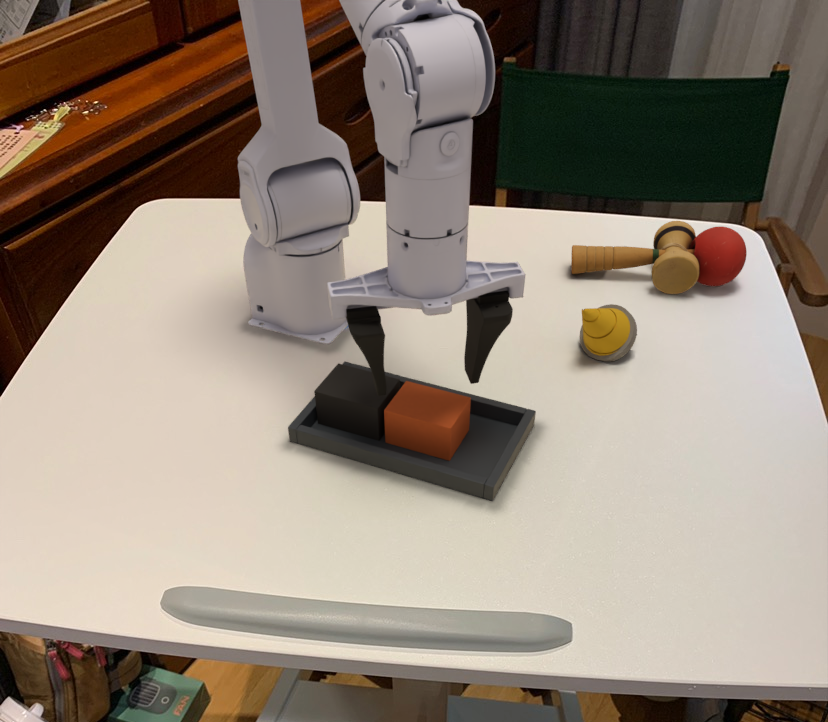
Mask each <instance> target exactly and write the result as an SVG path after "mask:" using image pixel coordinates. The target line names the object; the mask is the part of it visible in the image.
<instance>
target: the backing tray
mask: <svg viewBox="0 0 828 722" xmlns="http://www.w3.org/2000/svg"><path fill="white" fill-rule="evenodd" d="M342 364H343V365H347V366H351V367H355V368H359V369H362V370H366V371H370V372H372V371H371V369H370V366H364V365H362V364H361V365H360V364H357V363H352V362H349V361H345V360H344V361H343V363H342ZM385 376H389V377H393V378H397V379H400V388H401V387H402V386H403V385H404V383H405V382H406V381H409V382H413V383H416V384H420V385H424V386H428V387H432V388H436V389H440V390H443V391H447V392H451V393H455V394H459V395H463V396H466V397H470V398H471V404H470V422H469V431H468V432H467V434H466V436H465V437H464V439H463V440H462V442H461V444H460V445H459V447H458V448H457V450H456V452H455V453H454V455H453V456H452V458H451V460H450V461H448V460H445V459H441V458H438V457H434V456H431V455H427V454H424V453H420V452H417V451H413V450H410V449H406V448H403V447H399V446H396V445H392V444H389V443H386V442H385V433H384V435H383V436H382V437H381V439H380V440H379V441H378V440H374V439H371V438H367V437H364V436H360V435H357V434H353V433H350V432H346V431H343V430H339V429H336V428H332V427H329V426H325V425H322V424H318V420H317V411H316V402H315V395H314V396H313V398H311V399H310V401H309V402H307V404H306V405H305V407H304V408H303V409H302V410H301V412H300V413H299V414H298V415H296V417H295V418H294V419H293V421H291V422H290V424H289V425H288V426H287V432H288V437H289V439H288V440H289V442H290V443H294V444H298V445H301V446H304V447H306V448H311V449H314V450H318V451H320V452H324V453H327V454H330V455H334V456H338V457H341V458H345V459H348V460H351V461H355V462H357V463H360V464H361V463H362V464H364V465H368V466H370V467H375V468H378V469H380V470H381V469H382V470H385V471H387V472H388V471H389V472H391V473H395V474H399V475H401V476H404V477H405V476H406V477H408V478H412V479H416V480H418V481H422V482H424V483H425V482H426V483H428V484H432V485H435V486H439V487H443V488H446V489H450V490H453V491H455V492H459V493H463V494H466V495H470V496H473V497H476V498H480V499H483V500H487V501H490V502H493V501H494V500H495V498H496V496H497V494H498V492H499V490H500V489H501V486H502V485H503V483H504V481H505V479H506V477H507V476H508V474H509V473H510V470H511V468H512V467H513V465H514V462H515V461H516V460H517V457H518V455H519V453H520V452H521V450H522V448H523V446H524V444H525V443H526V441H527V439H528V437H529V435H530V434H531V431H532V430H533V428H534V426H535V420H536V413H537V412H536V410H534V409H531V408H527V407H524V406H523V407H522V406H518V405H515V404H511V403H508V402H503V401H500V400H495V399H491V398H488V397H484V396H480V395H476V394H472V393H468V392H465V391H461V390H457V389H453V388H449V387H446V386H442V385H438V384H435V383H431V382H426V381H422V380H418V379H415V378H411V377H407V376H403V375H399V374H395V373H391V372H387V371H385Z"/></svg>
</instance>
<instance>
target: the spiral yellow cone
mask: <svg viewBox="0 0 828 722" xmlns="http://www.w3.org/2000/svg"><path fill="white" fill-rule="evenodd" d="M581 321H582V322H581V323H582V325H581V327H580V331H579V343H580V347H581V349H582V350H583V352H584V353H585V354H586V355H587V356H589V357H590V358H592V359H593V360H596V361H601V362H608V363H609V362H610V363H611V362H615V361H618V360H619V359H621V358H623V357H624V356H626V354H628V353H629V352H630V351H631V349H632V348H633V346H634V344H635V343H636V339H637V336H638V326H637V325H638V324H637V322H636V319H635V318H634V316H633V315H632V313H630V311H629V310H628V309H626V307H624V306H621V305H619V304H614V303H611V304H610V303H609V304H604V305H601V306H599V307H596V308H595V307H594V308H590V307H589V308H581Z"/></svg>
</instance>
